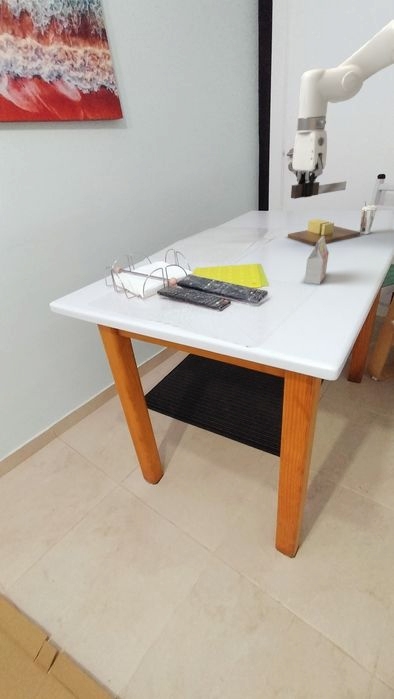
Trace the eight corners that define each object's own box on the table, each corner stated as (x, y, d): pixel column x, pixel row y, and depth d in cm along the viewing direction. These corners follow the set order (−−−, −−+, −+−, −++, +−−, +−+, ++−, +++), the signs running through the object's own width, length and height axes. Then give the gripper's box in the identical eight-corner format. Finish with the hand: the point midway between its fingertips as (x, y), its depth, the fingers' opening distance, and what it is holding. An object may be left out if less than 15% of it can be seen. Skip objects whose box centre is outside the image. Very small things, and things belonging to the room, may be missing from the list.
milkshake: (365, 230, 122) (371, 200, 117) (374, 233, 118) (380, 203, 112) (353, 231, 122) (359, 202, 116) (362, 235, 117) (368, 204, 112)
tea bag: (304, 282, 85) (309, 242, 80) (311, 273, 90) (315, 235, 85) (319, 284, 83) (325, 243, 78) (325, 275, 88) (331, 236, 83)
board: (331, 228, 128) (331, 225, 127) (359, 235, 117) (360, 232, 116) (287, 237, 122) (287, 233, 121) (313, 245, 111) (314, 242, 110)
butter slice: (329, 232, 118) (331, 222, 117) (332, 233, 117) (334, 223, 115) (320, 234, 117) (322, 224, 115) (323, 235, 116) (325, 224, 114)
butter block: (316, 229, 124) (317, 219, 122) (327, 232, 119) (329, 221, 117) (307, 230, 123) (308, 220, 121) (318, 234, 118) (320, 223, 116)
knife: (294, 198, 103) (295, 185, 101) (290, 198, 104) (291, 185, 102) (347, 190, 109) (349, 177, 108) (342, 189, 111) (344, 177, 109)
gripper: (342, 123, 90) (332, 197, 100) (303, 126, 103) (297, 192, 112) (320, 125, 88) (312, 200, 98) (282, 128, 100) (279, 195, 110)
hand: (304, 195), depth 105 cm, fingers closed on knife, 2 cm apart
